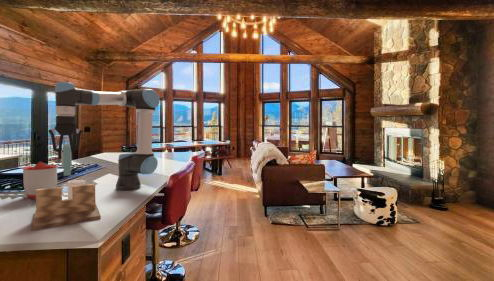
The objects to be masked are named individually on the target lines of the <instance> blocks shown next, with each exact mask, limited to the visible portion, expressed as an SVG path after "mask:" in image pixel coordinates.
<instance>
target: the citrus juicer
mask: <svg viewBox="0 0 494 281" xmlns="http://www.w3.org/2000/svg"><path fill="white" fill-rule="evenodd" d="M22 176H23V179H22V180H23V188H24V192H25V194H26V197H27V198H28V199H33V200H36V189H44V188H54V187H58V186H57V184H58V165H56V164H55V165H54V164H45V163H44V162H43V161H39V162H37V163H36V164H35V165H34V166H32V165H30V166H24V167H23V168H22Z"/></svg>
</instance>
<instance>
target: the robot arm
mask: <svg viewBox="0 0 494 281" xmlns="http://www.w3.org/2000/svg"><path fill="white" fill-rule="evenodd" d="M54 88H55V89H54V93H55V94H54V95H55V115H56V116H55V126H54V128H52V129H48V133H49V134H50V139H51V143H52V150H53V151H54V152H57V153H58V154H57V155H58V156H57V158H58V160H61V167H63V144H64V143H63V142H64V136H68V140H69V141H68V142H69V145H70V162H71V166H72V159H75V152H76V151H79V148H80V141H81V135H82V133H83V130H82V129H79V128H77V126H76V116H75V115H76V106H85V105H86V106H98V105H99V106H107V105H109V106H115V105H116V106H119V107H129V108H135V110H136V112H137V113H138V114H137V146H136V148H137V149H136V151H134V152H127V153H121V154H119V155H118V160H117V161H118V164H117V165H118V177H117V180H116V184H115V189H116V190H117V191H133V190H137V189H140V188H141V186H142V185H141V184H142V183H141V180H140V178H139V174H141V175H151V174H153V173H155V171H156V169H157V168H158V165H159V164H158V158H156V156H155V152H154V151H153V150H152V147H153V146H152V145H153V144H152V143H153V117H154V116H153V114H154V113H155V112H156V108H158V106H159V105H160V101H161V100H160V96H159V94H158V93H157V91H156V90H154V89H152V88H140V89H129V90H118V91H114V92H113V91H95V90H92V89H84V88H82V89H81V88H77V87H76V85H75V83H73V82H67V81H57V82H56V83H55V86H54ZM56 132H57V134H59V140H58V141H59V143H58V148H57V143H56V138H55V136H56V135H55V133H56ZM75 132H76V140H75V141H76V143H75V146H74V140H73V134H74V133H75Z"/></svg>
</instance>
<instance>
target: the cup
mask: <svg viewBox="0 0 494 281" xmlns="http://www.w3.org/2000/svg"><path fill="white" fill-rule="evenodd" d="M85 184H86V179H74V180H73V179H72V180H69V181H67V183H64V184H62V185H61V186H60V187H62V197H64V198H67V199H72V198H73V197H72V186H75V185H85ZM64 187H67V194H65V193H64V191H63V189H64Z"/></svg>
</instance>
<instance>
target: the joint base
mask: <svg viewBox="0 0 494 281" xmlns="http://www.w3.org/2000/svg"><path fill="white" fill-rule="evenodd" d="M72 197H73V198H72V199H68V198H64V199H63V196H62V187H61V186H56V187H54V188H44V189H36V199H35V207H36V210H35V213H34V216H33V220H32V222H31V227H30V228H31V229H30V230H31V231H36V230H41V229H48V228H53V227H54V228H55V227H60V226H66V225H72V224H77V223H78V224H79V223H84V222H89V221H96V220H101V219H102V218H101V217H102V216H101V213H100V211H99V208H98V206H97V203H96V183H87V184H85V185H75V186H72Z"/></svg>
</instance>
